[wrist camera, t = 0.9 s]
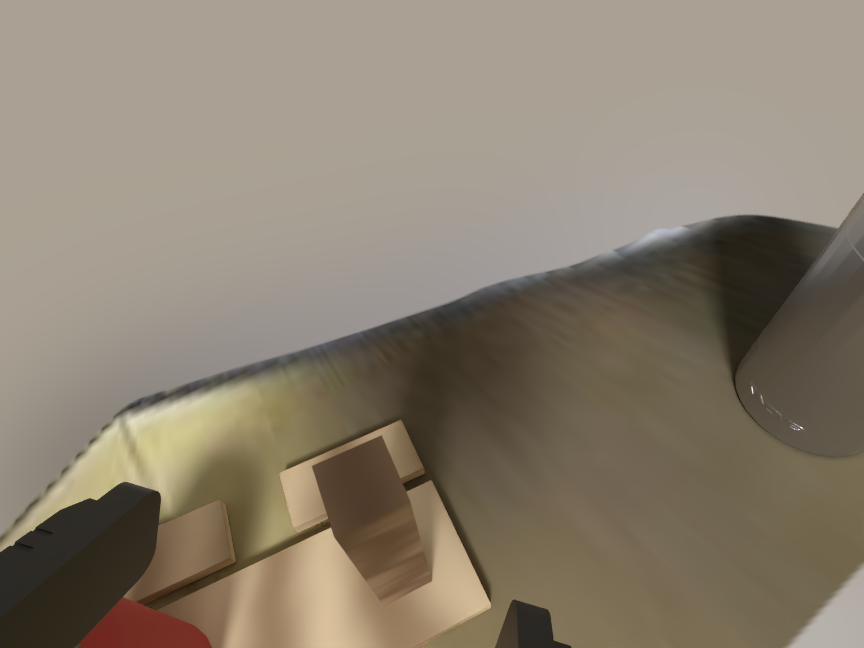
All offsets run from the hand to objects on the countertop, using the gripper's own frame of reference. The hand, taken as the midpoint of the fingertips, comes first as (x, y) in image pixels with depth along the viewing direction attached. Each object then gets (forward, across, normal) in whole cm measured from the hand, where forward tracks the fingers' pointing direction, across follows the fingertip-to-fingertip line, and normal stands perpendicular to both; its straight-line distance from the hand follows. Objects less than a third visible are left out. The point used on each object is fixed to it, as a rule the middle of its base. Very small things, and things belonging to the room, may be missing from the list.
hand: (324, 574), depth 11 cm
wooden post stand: (+13, +4, +17) cm, 22 cm away
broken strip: (+18, +8, +15) cm, 25 cm away
